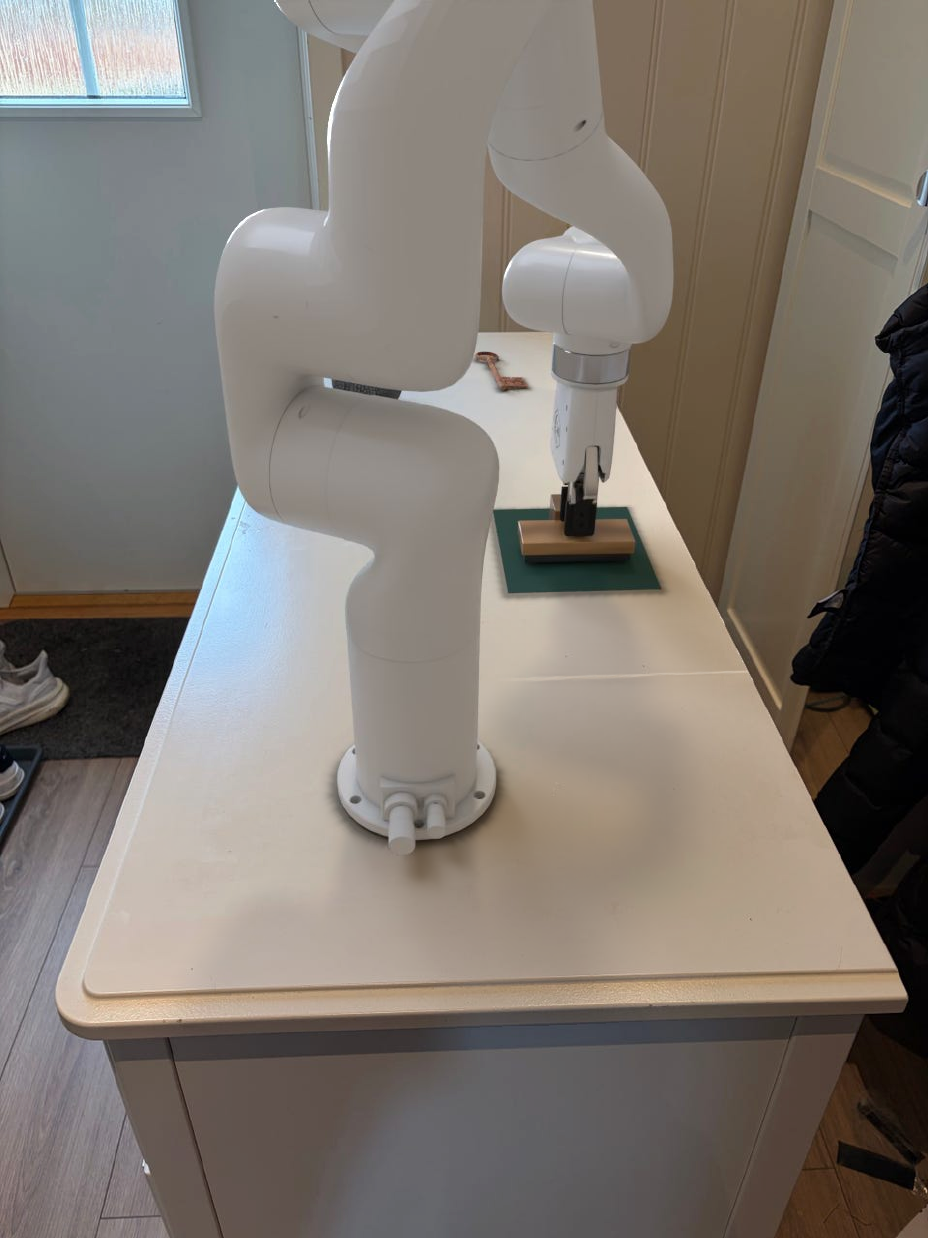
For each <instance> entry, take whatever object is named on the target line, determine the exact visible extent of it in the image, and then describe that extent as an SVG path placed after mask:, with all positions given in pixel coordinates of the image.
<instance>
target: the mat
mask: <svg viewBox="0 0 928 1238" xmlns="http://www.w3.org/2000/svg"><path fill="white" fill-rule="evenodd" d="M549 513H550V507H547V508H508V509H507V508H506V509H505V508H504V509H503V508H501V509H493V514H492V515H493V518H494V524H495V530H496V536H497V540H498V545H499V550H500V551H499V552H500V556H501V561H502V567H503V573H504V574H503V575H504V578H505V585H506V589H507V594H533V593H536V594H537V593H567V592H568V593H569V592H570V593H571V592H573V593H574V592H610V591H640V590H641V591H645V590H646V591H647V590H649V591H650V590H662V586H661V584H660V582H659V579H658V577H657V575H656V572H655V570H654V567H653V565H652V563H651V561H650V558H649V556H648V553H647V551H646V548H645V546H644V544H643V543H644V542H643V541H642V539H641V536H640V534H639V532H638V529H637V527H636V524H635V521H634V520H633V518H632V517H633V516H632V515H631V513H630V510H629V508H628V506H603V507H601V506H600V507H599V506H597V511H596V519H627V521H628V524H629V526H630V529H631V531H632V534H633V537H634V539H635V549H634V553H631V556H630V561H578V562H524V557H523V555H522V551H521V546H520V541H519V536H518V521H531V520H549Z"/></svg>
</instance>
